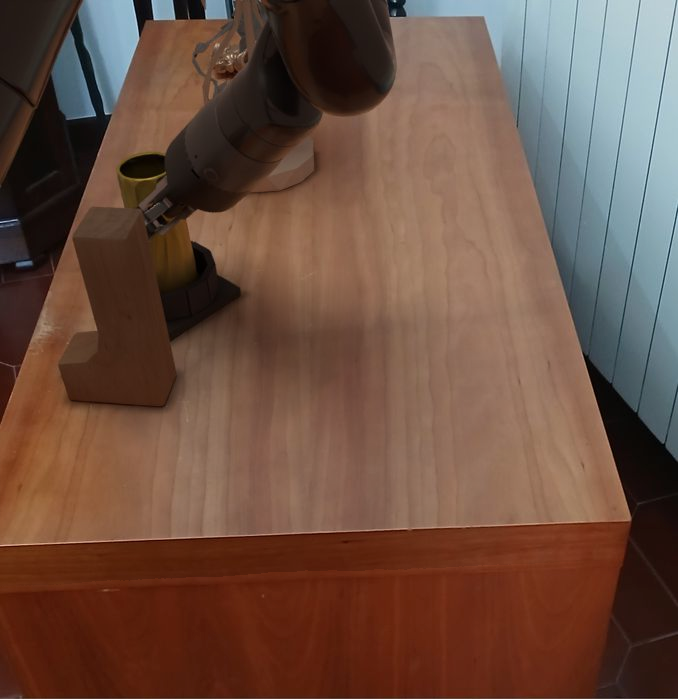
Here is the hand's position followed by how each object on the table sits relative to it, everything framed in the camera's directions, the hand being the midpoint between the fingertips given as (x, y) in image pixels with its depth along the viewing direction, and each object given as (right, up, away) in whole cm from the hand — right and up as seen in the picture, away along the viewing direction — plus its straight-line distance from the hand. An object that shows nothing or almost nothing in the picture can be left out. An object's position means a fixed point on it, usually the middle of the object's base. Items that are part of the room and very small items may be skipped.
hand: (145, 231), depth 89 cm
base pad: (+2, -6, +4) cm, 8 cm away
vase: (+2, -6, +4) cm, 7 cm away
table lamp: (+9, +11, +24) cm, 28 cm away
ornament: (+3, +29, +45) cm, 53 cm away
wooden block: (-1, -15, -5) cm, 16 cm away
